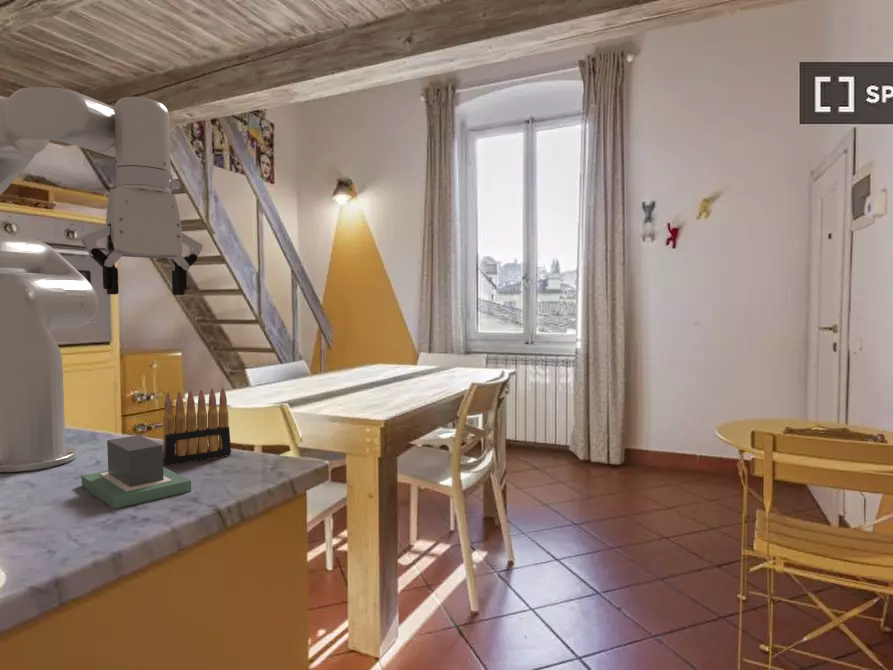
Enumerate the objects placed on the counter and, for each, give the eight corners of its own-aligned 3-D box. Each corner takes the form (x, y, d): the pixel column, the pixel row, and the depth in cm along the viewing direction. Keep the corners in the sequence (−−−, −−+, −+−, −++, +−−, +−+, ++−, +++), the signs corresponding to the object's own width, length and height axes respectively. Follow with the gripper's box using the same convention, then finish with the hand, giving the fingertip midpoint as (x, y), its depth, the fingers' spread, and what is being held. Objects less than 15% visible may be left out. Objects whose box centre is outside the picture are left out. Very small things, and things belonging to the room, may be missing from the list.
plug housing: (108, 473, 86) (107, 440, 85) (140, 467, 89) (139, 435, 88) (130, 487, 79) (128, 451, 79) (163, 479, 83) (162, 445, 82)
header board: (81, 485, 85) (80, 454, 85) (153, 471, 93) (152, 442, 92) (114, 509, 76) (112, 473, 75) (191, 490, 83) (190, 458, 83)
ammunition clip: (165, 465, 96) (163, 393, 95) (162, 463, 97) (160, 392, 97) (231, 455, 102) (229, 387, 101) (228, 453, 104) (226, 386, 103)
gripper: (190, 194, 98) (192, 295, 100) (72, 178, 86) (76, 294, 87) (210, 188, 93) (211, 295, 94) (87, 170, 81) (91, 294, 82)
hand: (146, 294), depth 91 cm, fingers open, 9 cm apart
